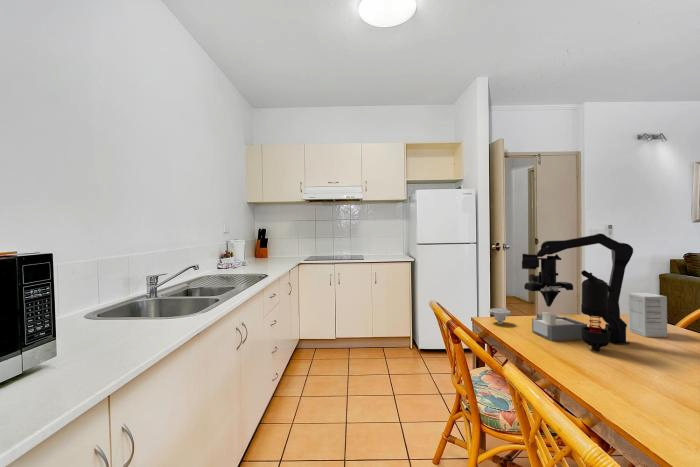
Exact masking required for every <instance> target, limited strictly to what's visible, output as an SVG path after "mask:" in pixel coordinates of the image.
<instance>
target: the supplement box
mask: <svg viewBox="0 0 700 467" xmlns="http://www.w3.org/2000/svg"><path fill="white" fill-rule="evenodd" d="M667 298H668V297H667V296H666V295H661V294H655V293H650V292H627V301H628V304H627V308H628V309H627V310H628V313H627V314H628V316H627V317H628V318H627V319H628V322H627V327H628V330H627V331H628V332H631V333H634V334H636V335H639V336H642V337H645V338H657V337H658V338H664V337H665V338H666V337H668V306H667V305H668V302H667V301H668V300H667Z"/></svg>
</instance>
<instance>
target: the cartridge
mask: <svg viewBox="0 0 700 467" xmlns="http://www.w3.org/2000/svg"><path fill="white" fill-rule="evenodd" d="M541 314H542V320H535V319H534V318H532V319H533V330H534V331H536V332H538V333H540V334H543V335H545V336H547V337H549V325H566V324H574V323H571V322H568V321H566V320H563V319H556V316H557V314H554V313H551V312H549V311H544V312H543V311H542V312H541Z"/></svg>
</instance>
